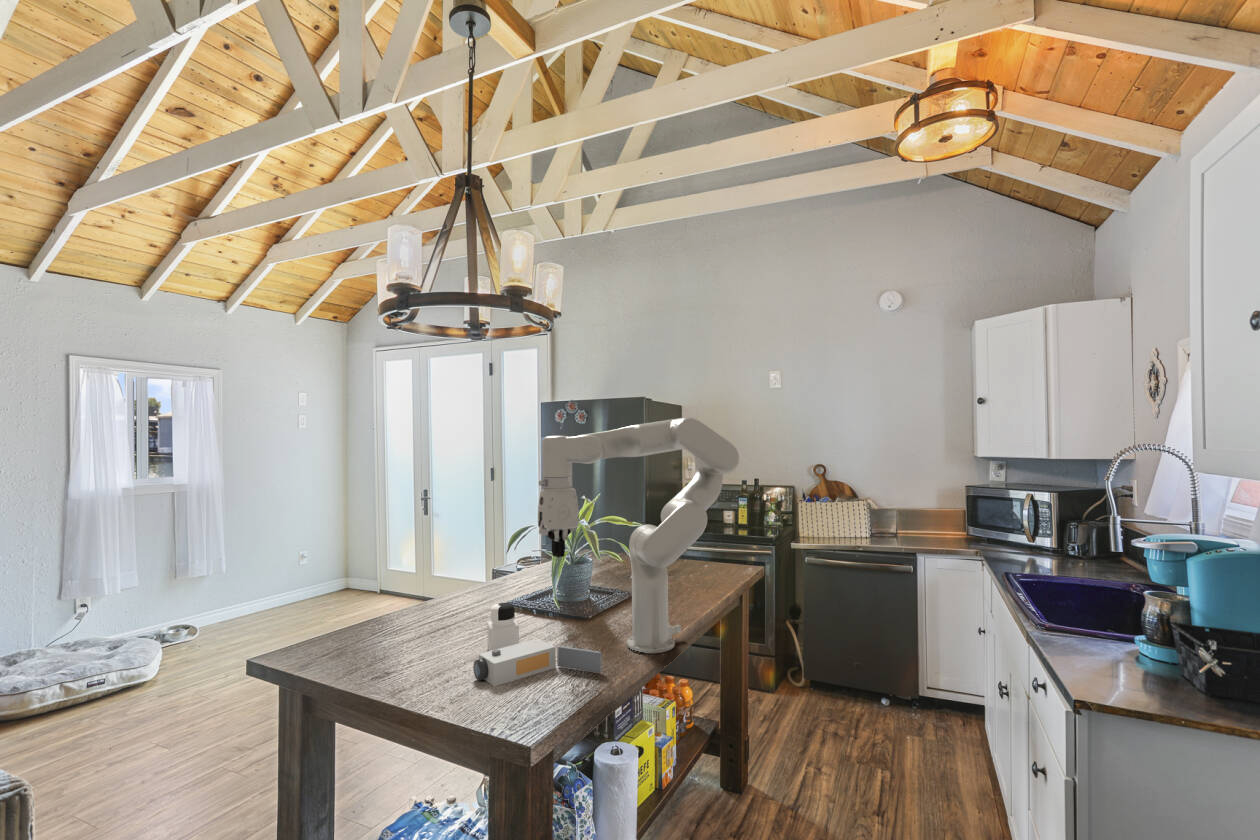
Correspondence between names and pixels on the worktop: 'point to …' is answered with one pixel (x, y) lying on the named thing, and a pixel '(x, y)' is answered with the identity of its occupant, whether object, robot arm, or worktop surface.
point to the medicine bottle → (502, 627)
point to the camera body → (515, 662)
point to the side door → (579, 659)
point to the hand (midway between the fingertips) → (558, 556)
